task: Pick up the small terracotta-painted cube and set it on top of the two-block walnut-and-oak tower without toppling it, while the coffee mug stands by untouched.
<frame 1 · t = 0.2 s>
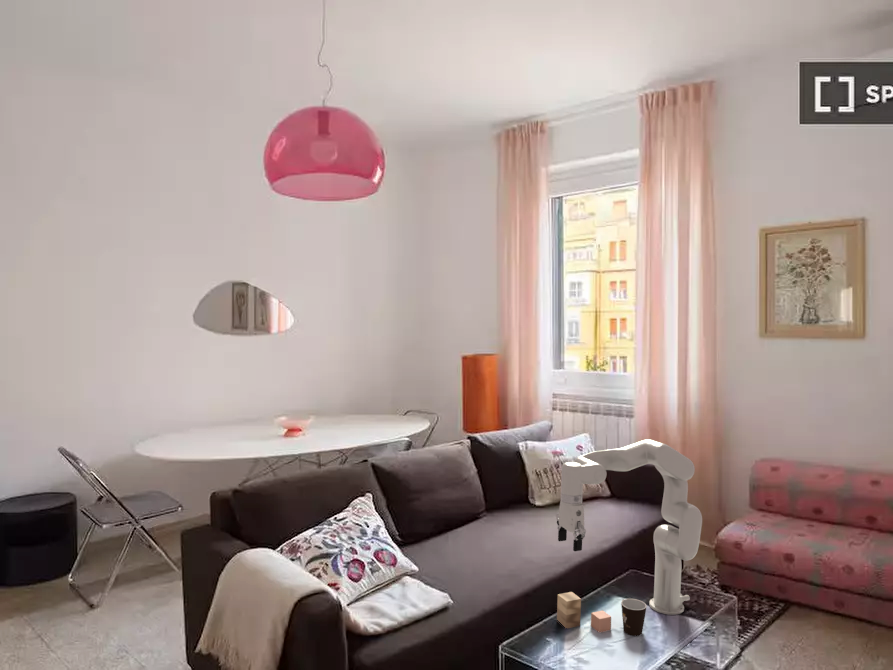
hand: (569, 545, 236), 30 cm above the table, fingers open, 9 cm apart
coffee mug: (632, 630, 238), on the table
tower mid: (568, 610, 241), point 5 cm above the table, touching tower base
tower base: (568, 623, 242), on the table, touching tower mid
terracotta block: (600, 628, 239), on the table
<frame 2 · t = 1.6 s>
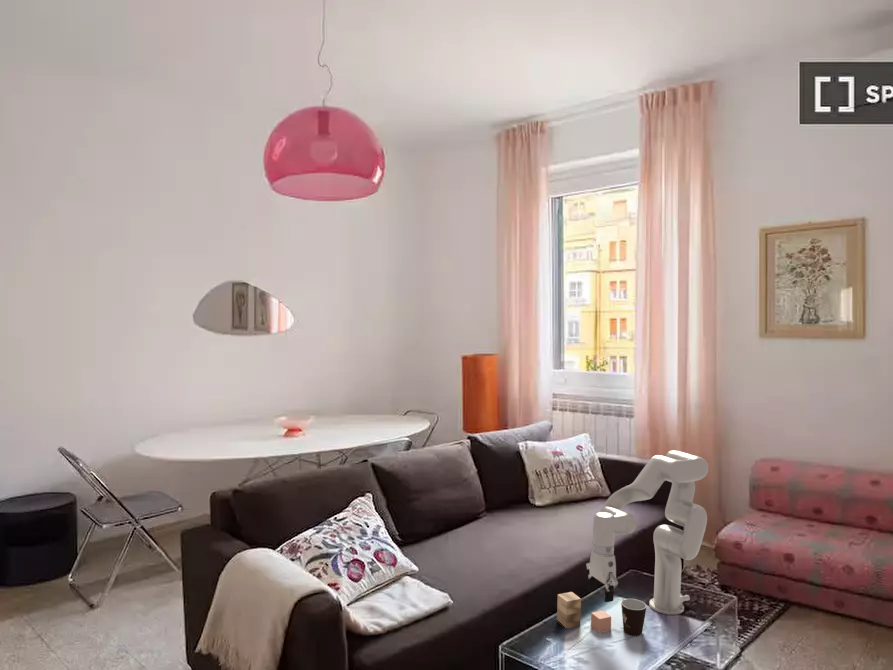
hand: (600, 595, 238), 12 cm above the table, fingers open, 9 cm apart
nothing on the table moved.
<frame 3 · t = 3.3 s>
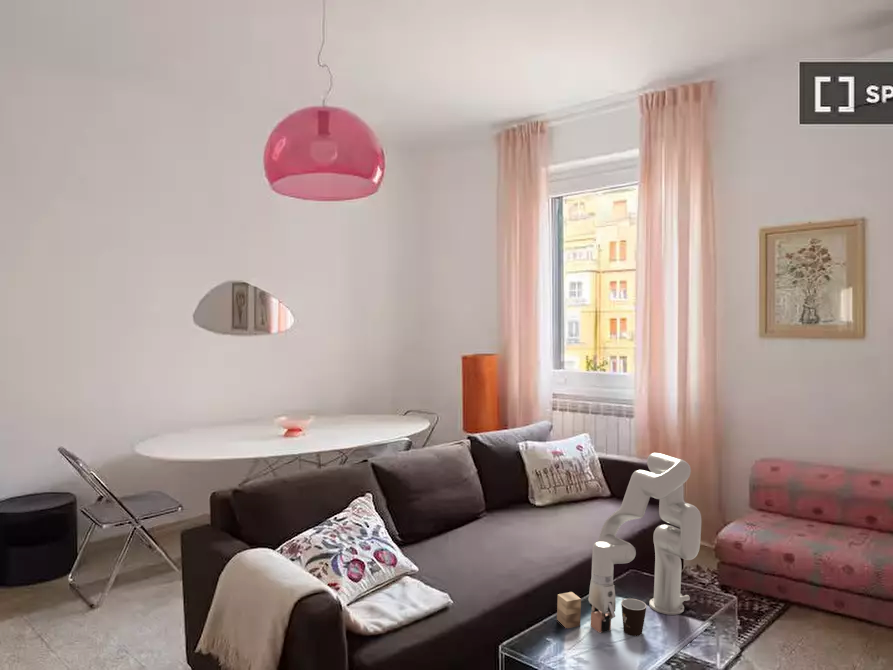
hand: (600, 626, 239), 0 cm above the table, fingers closed on terracotta block, 5 cm apart
terracotta block: (600, 628, 239), on the table, touching gripper
everything else where it was.
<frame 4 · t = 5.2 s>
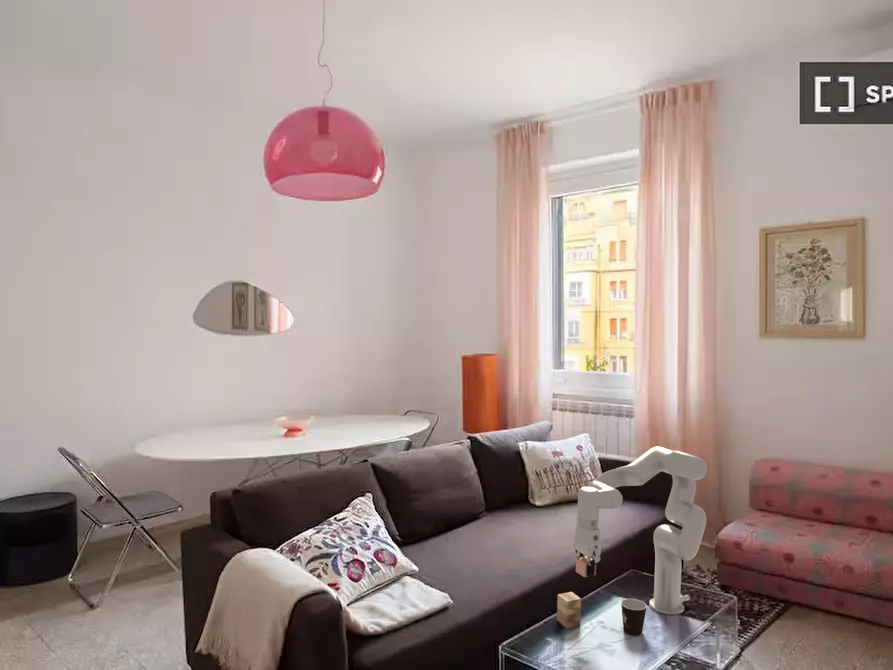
hand: (585, 571, 239), 20 cm above the table, fingers closed on terracotta block, 5 cm apart
terracotta block: (585, 573, 239), point 19 cm above the table, touching gripper
everything else where it was.
when the fingers open (11 cm above the table, at t = 7.5 s): terracotta block stays where it is, resting on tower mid.
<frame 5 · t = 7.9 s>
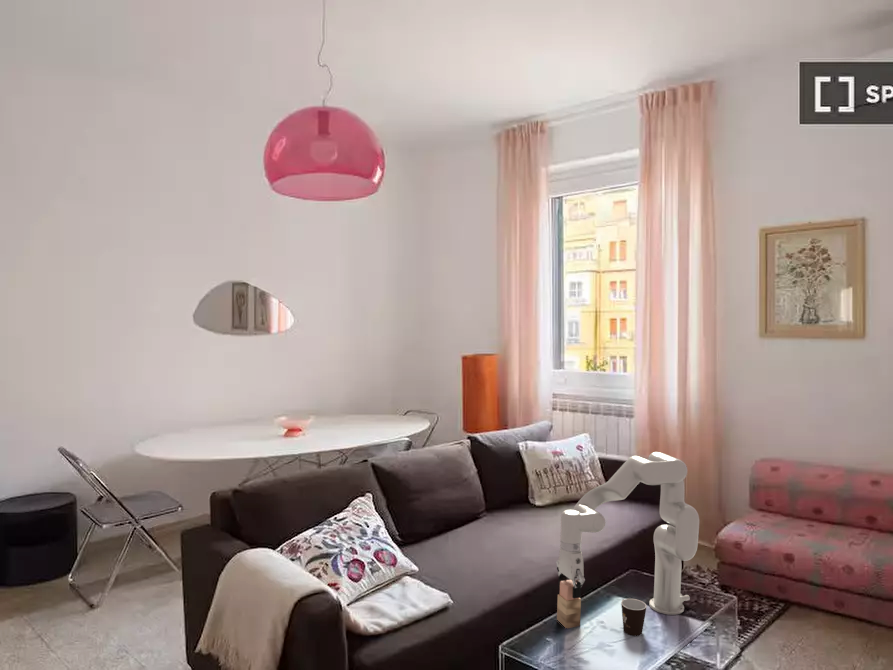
hand: (569, 592, 241), 12 cm above the table, fingers open, 8 cm apart
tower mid: (568, 610, 241), point 5 cm above the table, touching terracotta block, tower base
terracotta block: (569, 596, 241), point 10 cm above the table, touching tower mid
everything else where it was.
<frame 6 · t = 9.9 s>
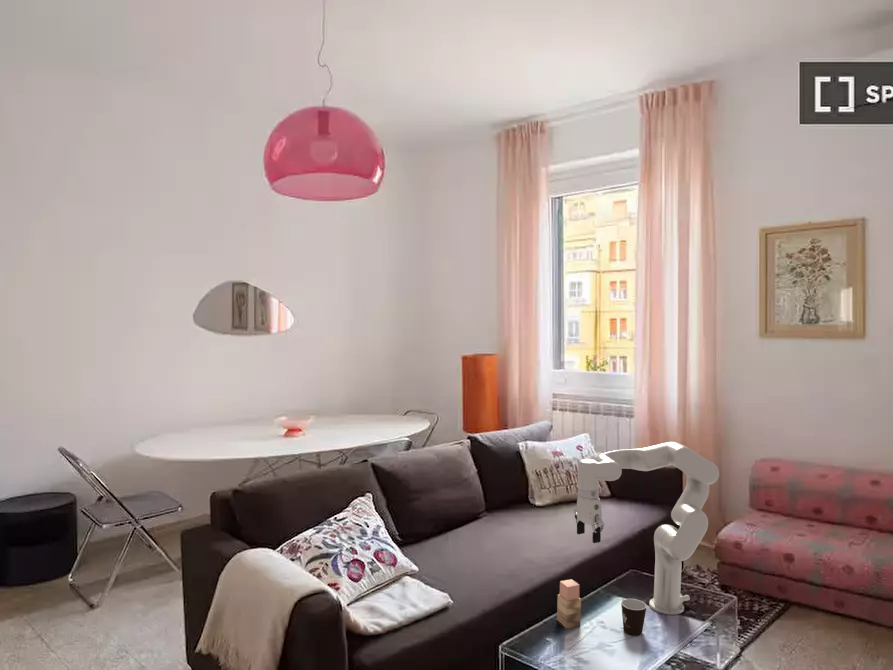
hand: (588, 537, 249), 28 cm above the table, fingers open, 9 cm apart
nothing on the table moved.
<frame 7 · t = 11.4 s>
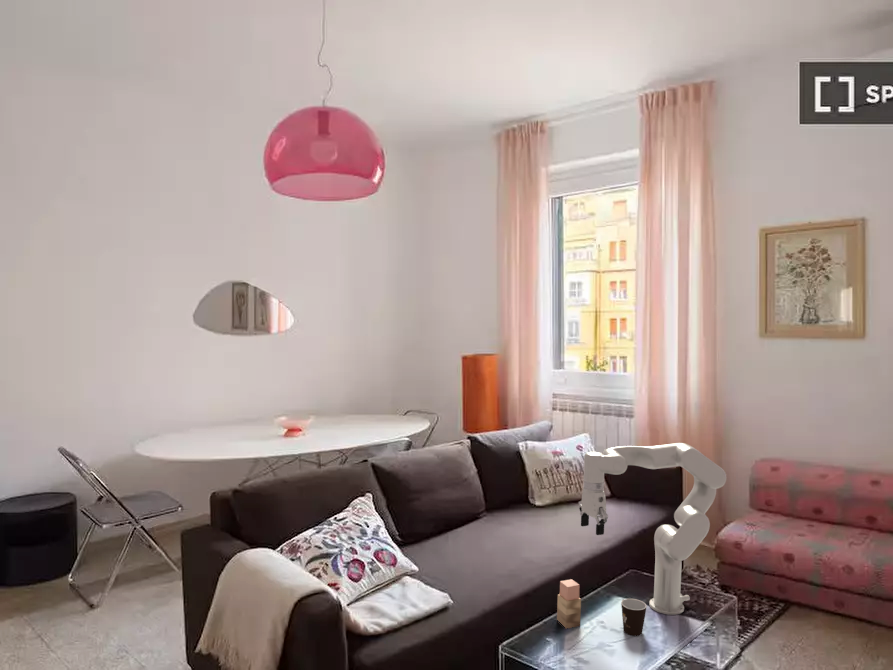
hand: (592, 530, 252), 30 cm above the table, fingers open, 9 cm apart
nothing on the table moved.
at the end: terracotta block 0.1 cm off-centre on the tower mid, point 5.0 cm above the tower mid's base; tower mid tilted 0°; terracotta block tilted 0° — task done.
